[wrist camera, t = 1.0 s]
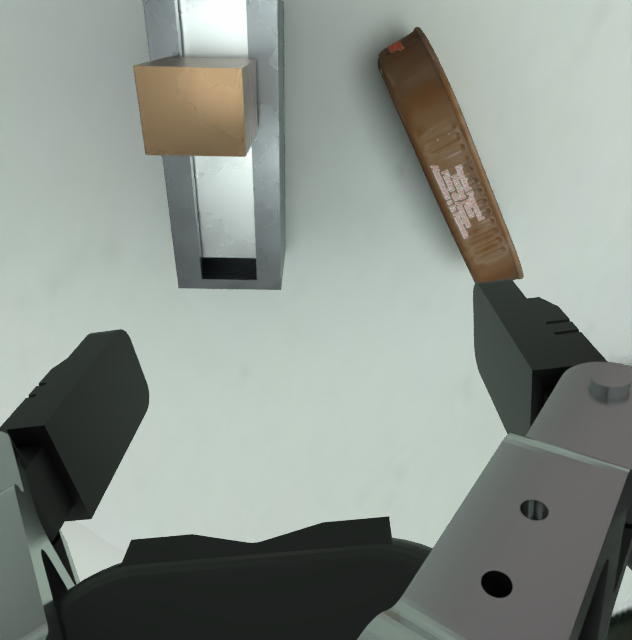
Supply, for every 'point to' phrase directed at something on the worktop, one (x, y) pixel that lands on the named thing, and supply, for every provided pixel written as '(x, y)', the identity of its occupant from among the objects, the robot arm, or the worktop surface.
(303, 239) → the worktop surface
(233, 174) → the slider with block handle
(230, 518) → the worktop surface
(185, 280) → the sleeve
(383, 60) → the tin
